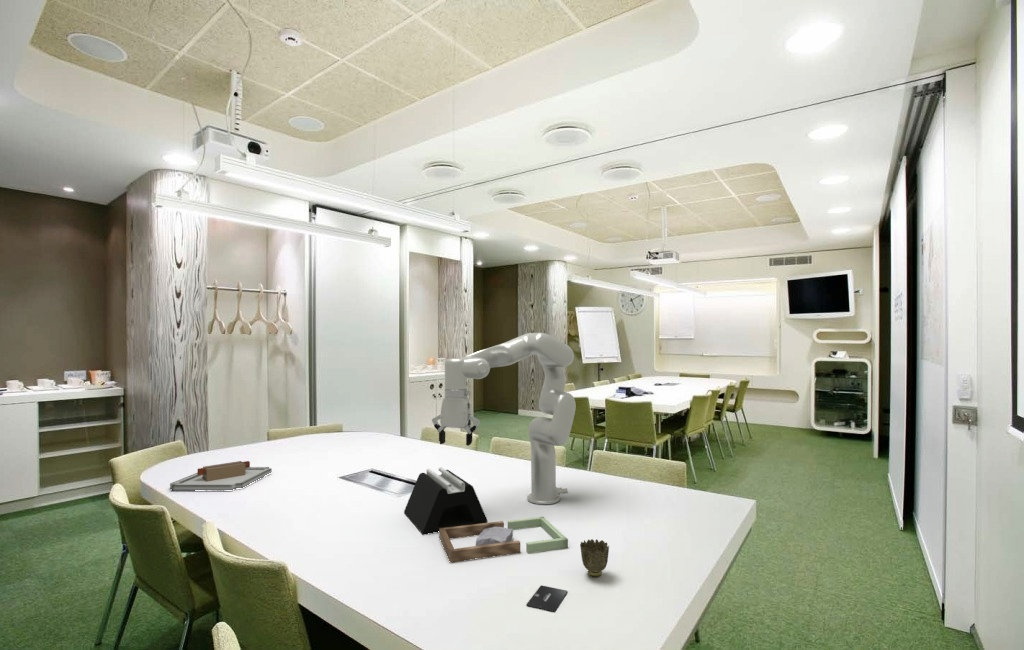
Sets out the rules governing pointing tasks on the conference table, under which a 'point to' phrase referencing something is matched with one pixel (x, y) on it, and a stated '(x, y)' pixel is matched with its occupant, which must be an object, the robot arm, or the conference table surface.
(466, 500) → the device stand
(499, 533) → the stone block
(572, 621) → the conference table surface
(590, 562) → the cup
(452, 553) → the brown wooden u frame
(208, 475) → the grey flat square tray
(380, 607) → the conference table surface
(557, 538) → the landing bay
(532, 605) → the solid state drive
